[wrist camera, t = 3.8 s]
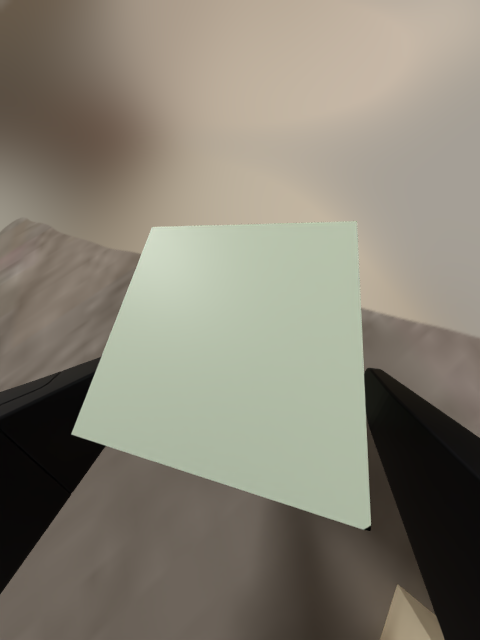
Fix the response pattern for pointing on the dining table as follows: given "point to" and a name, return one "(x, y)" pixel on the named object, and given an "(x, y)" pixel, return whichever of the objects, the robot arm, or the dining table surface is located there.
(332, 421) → the sage block
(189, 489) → the dining table surface
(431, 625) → the birch block
